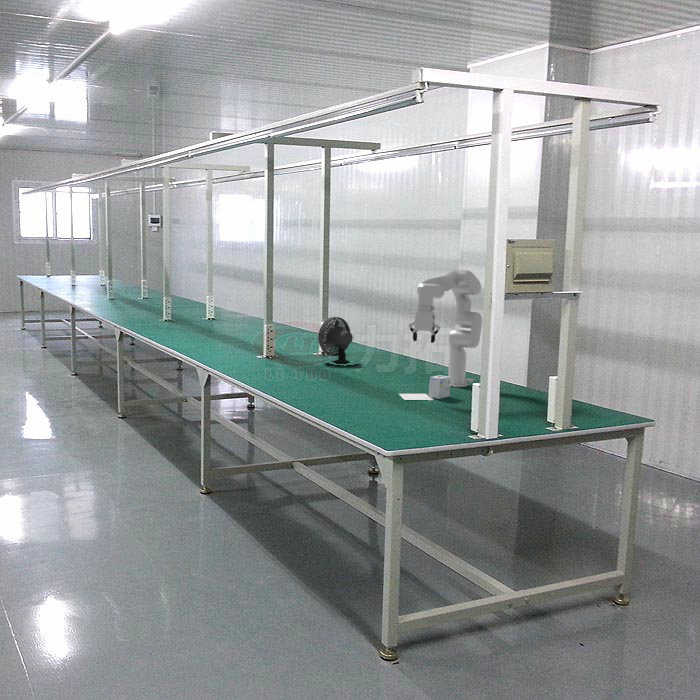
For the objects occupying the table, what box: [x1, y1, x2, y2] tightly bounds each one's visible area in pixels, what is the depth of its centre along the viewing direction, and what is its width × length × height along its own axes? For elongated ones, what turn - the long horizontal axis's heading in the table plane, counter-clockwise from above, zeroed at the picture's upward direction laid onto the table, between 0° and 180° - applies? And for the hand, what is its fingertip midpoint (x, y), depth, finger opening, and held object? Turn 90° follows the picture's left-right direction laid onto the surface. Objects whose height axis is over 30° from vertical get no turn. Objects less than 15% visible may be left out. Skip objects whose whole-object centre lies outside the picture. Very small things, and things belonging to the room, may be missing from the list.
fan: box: [317, 316, 354, 364], centre depth 495 cm, size 26×26×30 cm
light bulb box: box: [428, 374, 451, 400], centre depth 395 cm, size 11×7×11 cm, turn 141°
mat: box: [398, 393, 434, 401], centre depth 393 cm, size 15×16×1 cm
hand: (423, 341), depth 393 cm, fingers open, 9 cm apart
